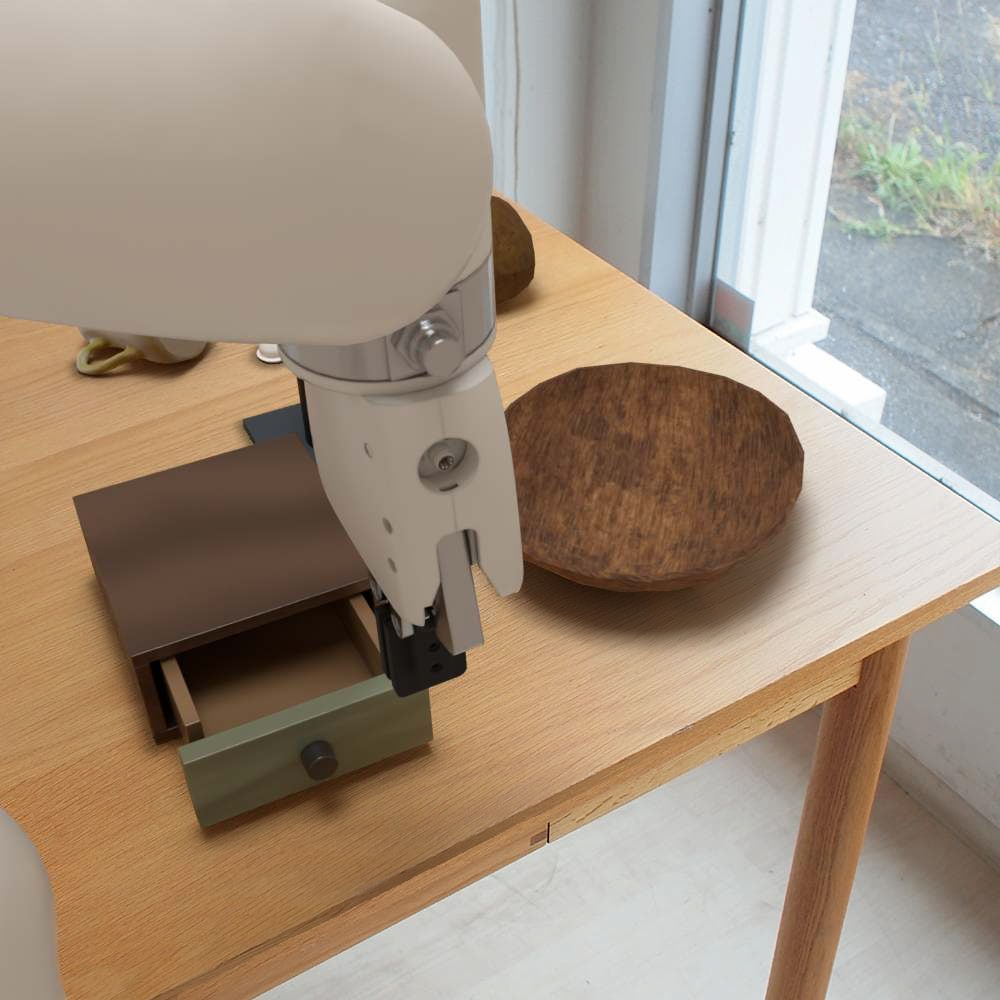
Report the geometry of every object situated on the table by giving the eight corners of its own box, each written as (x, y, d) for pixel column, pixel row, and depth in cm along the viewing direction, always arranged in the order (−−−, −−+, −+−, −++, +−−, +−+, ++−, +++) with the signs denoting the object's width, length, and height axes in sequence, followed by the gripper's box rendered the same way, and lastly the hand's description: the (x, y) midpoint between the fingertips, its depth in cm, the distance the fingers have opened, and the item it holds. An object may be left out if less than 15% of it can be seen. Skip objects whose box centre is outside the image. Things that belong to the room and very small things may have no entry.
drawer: (443, 756, 68) (437, 691, 65) (207, 847, 64) (190, 782, 61) (343, 585, 78) (334, 522, 75) (136, 654, 74) (117, 590, 71)
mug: (104, 320, 105) (146, 218, 100) (197, 394, 104) (244, 295, 99) (39, 345, 99) (81, 238, 94) (137, 424, 98) (185, 320, 93)
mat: (288, 504, 86) (287, 497, 85) (243, 425, 93) (242, 418, 92) (430, 461, 89) (429, 453, 89) (375, 388, 96) (375, 381, 96)
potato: (395, 271, 110) (386, 172, 104) (538, 271, 109) (537, 172, 103) (382, 323, 103) (371, 221, 98) (534, 324, 102) (532, 221, 97)
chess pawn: (250, 360, 99) (240, 302, 96) (267, 341, 102) (257, 284, 98) (284, 366, 99) (275, 308, 96) (300, 346, 101) (292, 289, 98)
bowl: (427, 605, 78) (421, 540, 75) (539, 402, 94) (538, 341, 91) (761, 676, 72) (770, 609, 69) (819, 448, 89) (828, 385, 85)
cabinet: (394, 660, 74) (384, 572, 70) (156, 745, 70) (130, 657, 66) (308, 515, 85) (295, 431, 81) (97, 581, 80) (71, 496, 76)
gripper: (588, 376, 40) (588, 765, 52) (401, 184, 51) (436, 543, 62) (358, 448, 38) (411, 839, 49) (212, 231, 48) (285, 595, 60)
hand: (425, 673), depth 56 cm, fingers closed
